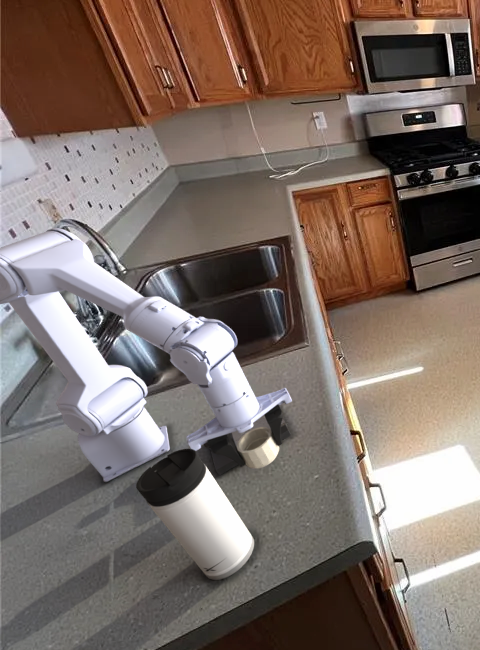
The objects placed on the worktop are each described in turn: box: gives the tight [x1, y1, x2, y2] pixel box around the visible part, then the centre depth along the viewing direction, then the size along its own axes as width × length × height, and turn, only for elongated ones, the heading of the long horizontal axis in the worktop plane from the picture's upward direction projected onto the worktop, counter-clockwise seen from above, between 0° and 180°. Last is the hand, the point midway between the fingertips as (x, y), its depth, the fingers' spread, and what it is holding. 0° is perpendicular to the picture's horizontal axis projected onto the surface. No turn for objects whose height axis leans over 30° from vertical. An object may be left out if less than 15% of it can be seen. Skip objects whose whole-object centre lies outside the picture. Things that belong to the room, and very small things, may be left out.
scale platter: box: [232, 415, 287, 447], centre depth 77 cm, size 8×8×1 cm
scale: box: [202, 424, 292, 476], centre depth 78 cm, size 13×11×3 cm
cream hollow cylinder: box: [237, 427, 280, 470], centre depth 71 cm, size 5×5×4 cm
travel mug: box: [135, 448, 255, 581], centre depth 55 cm, size 6×7×20 cm
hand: (260, 451), depth 71 cm, fingers closed on cream hollow cylinder, 5 cm apart
